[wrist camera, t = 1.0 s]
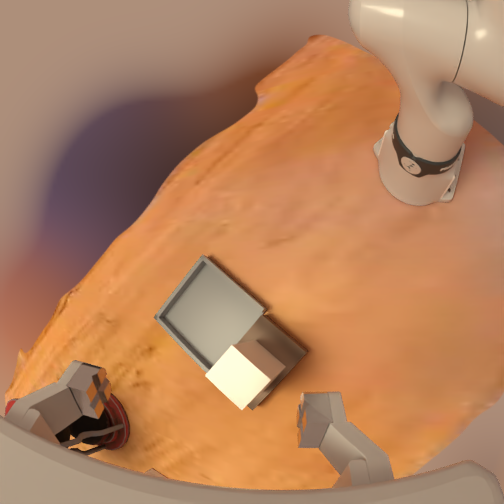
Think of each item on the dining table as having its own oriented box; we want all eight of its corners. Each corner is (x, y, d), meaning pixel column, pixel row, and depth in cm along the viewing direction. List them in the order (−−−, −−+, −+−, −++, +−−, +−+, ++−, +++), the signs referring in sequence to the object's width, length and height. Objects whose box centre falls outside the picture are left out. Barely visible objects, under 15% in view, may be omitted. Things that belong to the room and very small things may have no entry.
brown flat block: (265, 314, 54) (261, 314, 51) (308, 350, 50) (306, 352, 48) (217, 370, 54) (211, 372, 51) (256, 405, 50) (252, 410, 48)
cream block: (255, 339, 50) (231, 344, 39) (286, 366, 48) (270, 380, 37) (233, 364, 50) (204, 375, 39) (263, 391, 48) (241, 410, 37)
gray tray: (207, 257, 59) (202, 254, 57) (267, 309, 54) (264, 308, 52) (160, 317, 59) (153, 317, 57) (213, 372, 54) (207, 374, 52)
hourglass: (79, 383, 62) (-1, 391, 39) (125, 391, 58) (38, 409, 35) (87, 440, 58) (14, 461, 35) (134, 454, 54) (57, 489, 31)
